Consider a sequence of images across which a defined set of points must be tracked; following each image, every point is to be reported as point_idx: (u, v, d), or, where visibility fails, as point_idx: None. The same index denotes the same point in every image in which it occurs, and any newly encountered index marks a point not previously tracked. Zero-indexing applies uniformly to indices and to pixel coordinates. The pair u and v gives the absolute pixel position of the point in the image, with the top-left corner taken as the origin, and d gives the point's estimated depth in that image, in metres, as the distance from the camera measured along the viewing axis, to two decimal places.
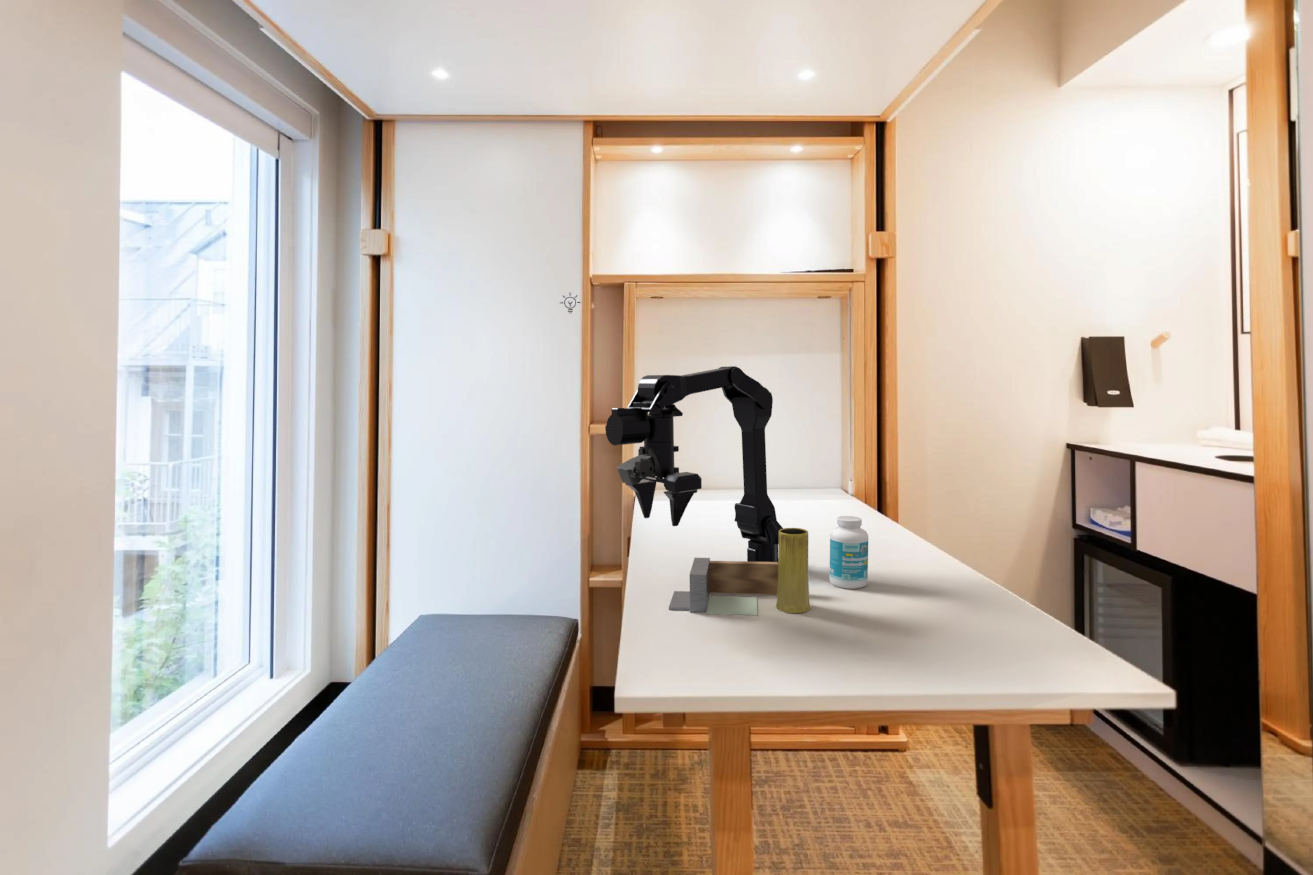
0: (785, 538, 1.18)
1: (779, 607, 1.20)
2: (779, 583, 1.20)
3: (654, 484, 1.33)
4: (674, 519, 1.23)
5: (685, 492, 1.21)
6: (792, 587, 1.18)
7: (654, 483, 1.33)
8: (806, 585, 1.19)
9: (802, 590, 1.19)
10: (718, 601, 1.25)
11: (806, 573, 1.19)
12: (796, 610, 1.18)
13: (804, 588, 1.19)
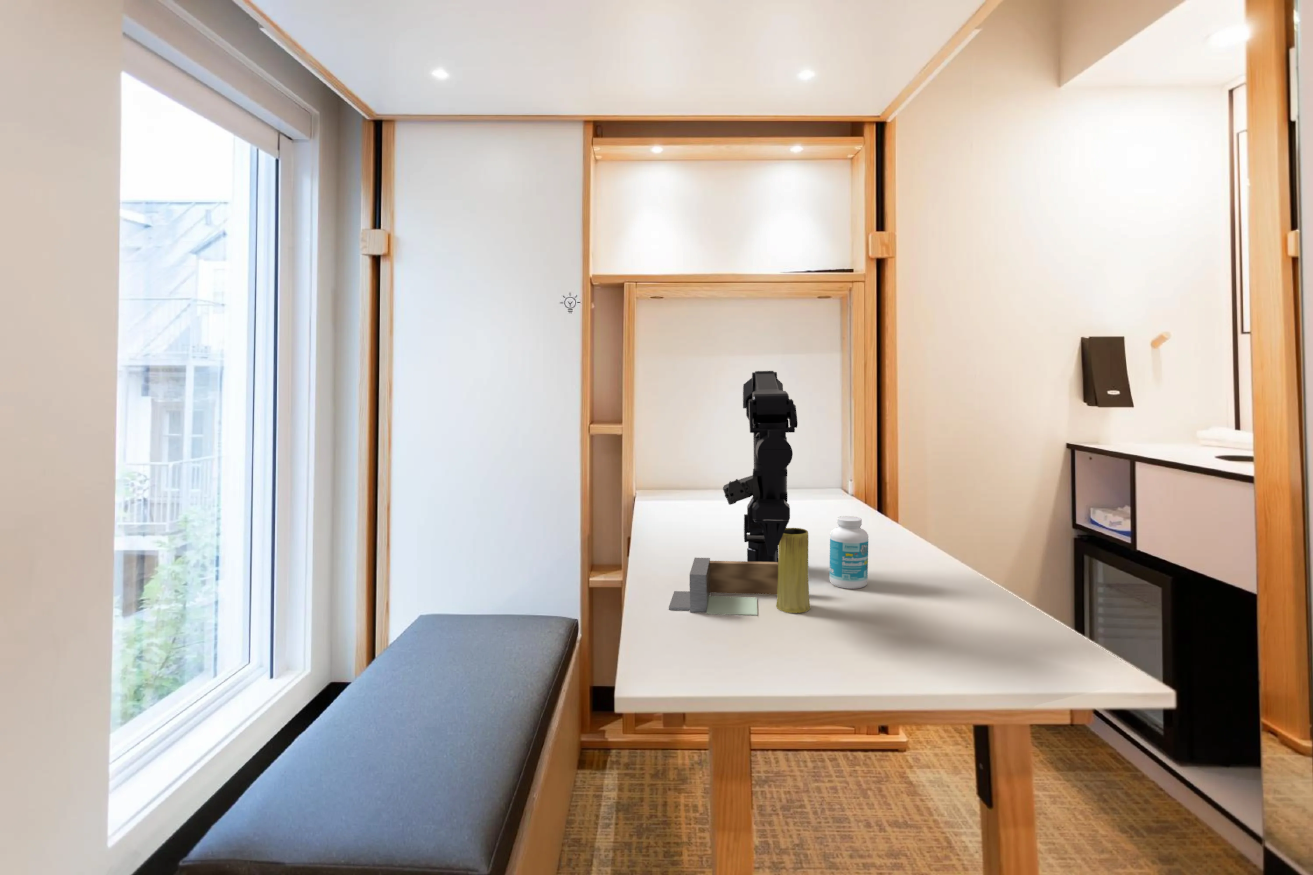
0: (785, 538, 1.18)
1: (779, 607, 1.20)
2: (779, 583, 1.20)
3: None
4: (767, 548, 1.16)
5: (770, 521, 1.12)
6: (792, 587, 1.18)
7: None
8: (806, 585, 1.19)
9: (802, 590, 1.19)
10: (718, 601, 1.25)
11: (806, 573, 1.19)
12: (796, 610, 1.18)
13: (804, 588, 1.19)
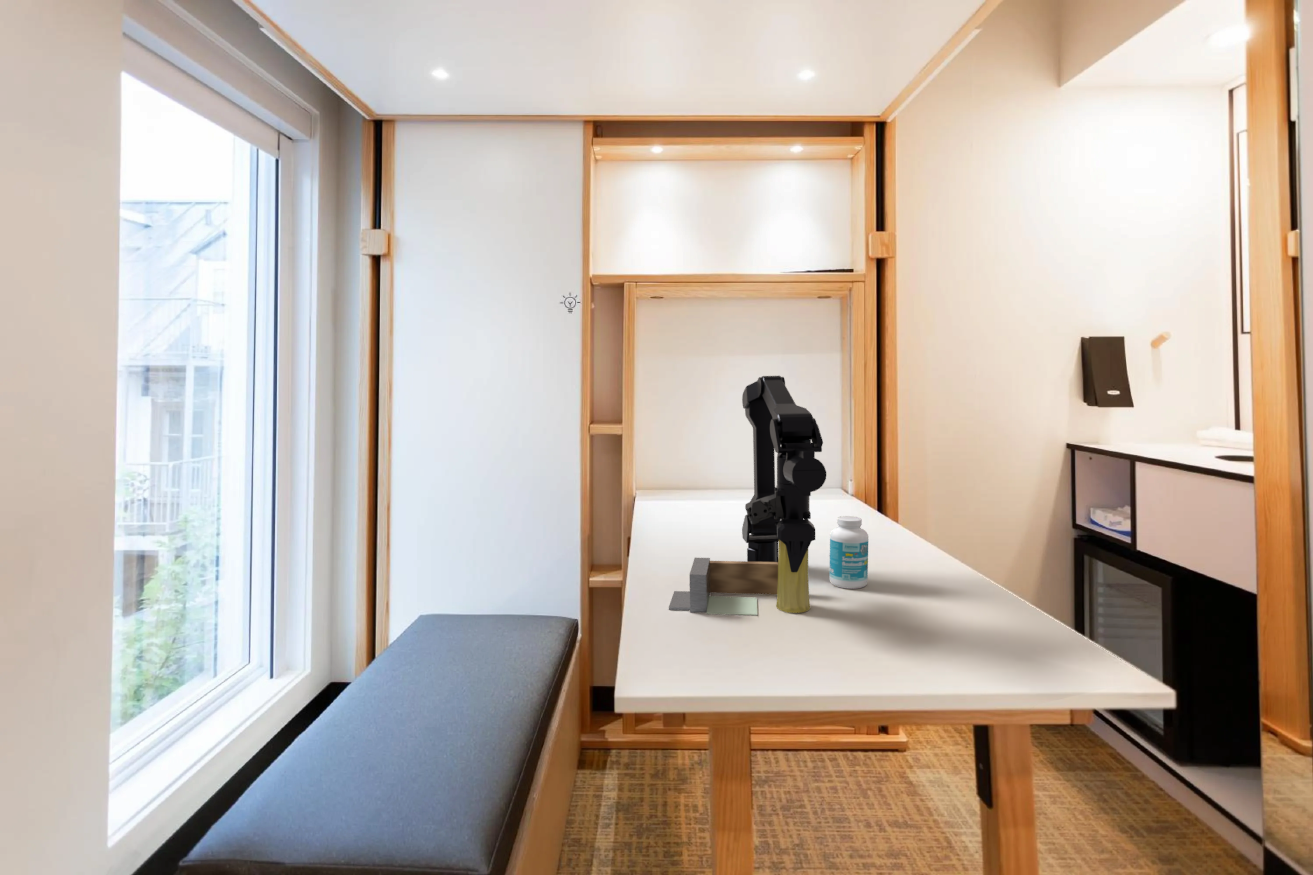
0: None
1: (779, 607, 1.20)
2: (779, 583, 1.20)
3: None
4: (790, 565, 1.17)
5: None
6: (792, 587, 1.18)
7: None
8: (806, 585, 1.19)
9: (802, 590, 1.19)
10: (718, 601, 1.25)
11: (806, 573, 1.19)
12: (796, 610, 1.18)
13: (804, 588, 1.19)
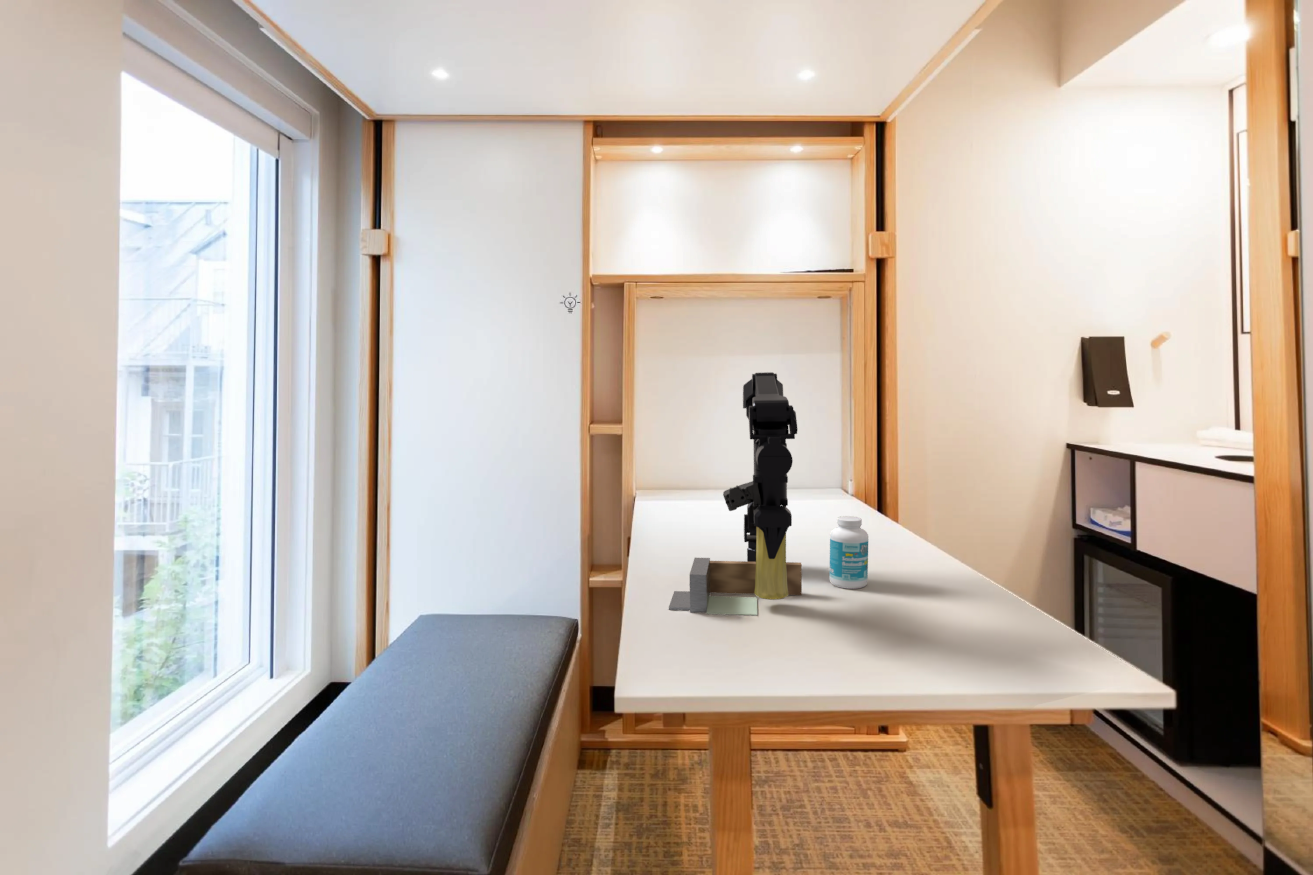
0: None
1: (757, 594, 1.20)
2: (757, 570, 1.21)
3: None
4: (768, 551, 1.18)
5: None
6: (770, 574, 1.19)
7: None
8: (784, 571, 1.19)
9: (780, 577, 1.19)
10: (718, 601, 1.25)
11: (784, 560, 1.19)
12: (774, 597, 1.19)
13: (782, 574, 1.19)
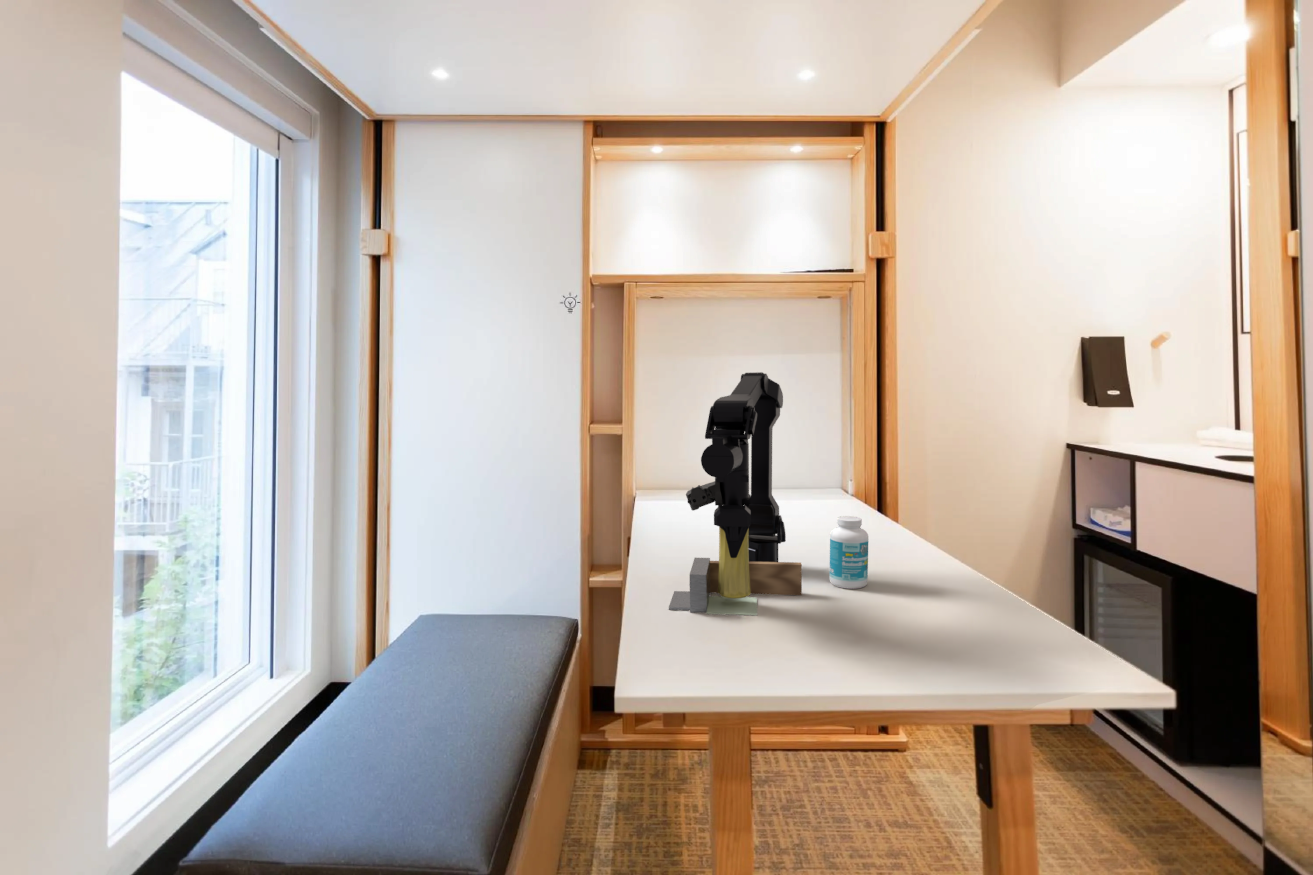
0: None
1: (720, 592, 1.21)
2: (720, 569, 1.22)
3: None
4: (730, 550, 1.18)
5: None
6: (732, 573, 1.20)
7: None
8: (746, 570, 1.20)
9: (742, 576, 1.20)
10: (718, 601, 1.25)
11: (746, 559, 1.20)
12: (736, 595, 1.20)
13: (744, 573, 1.20)
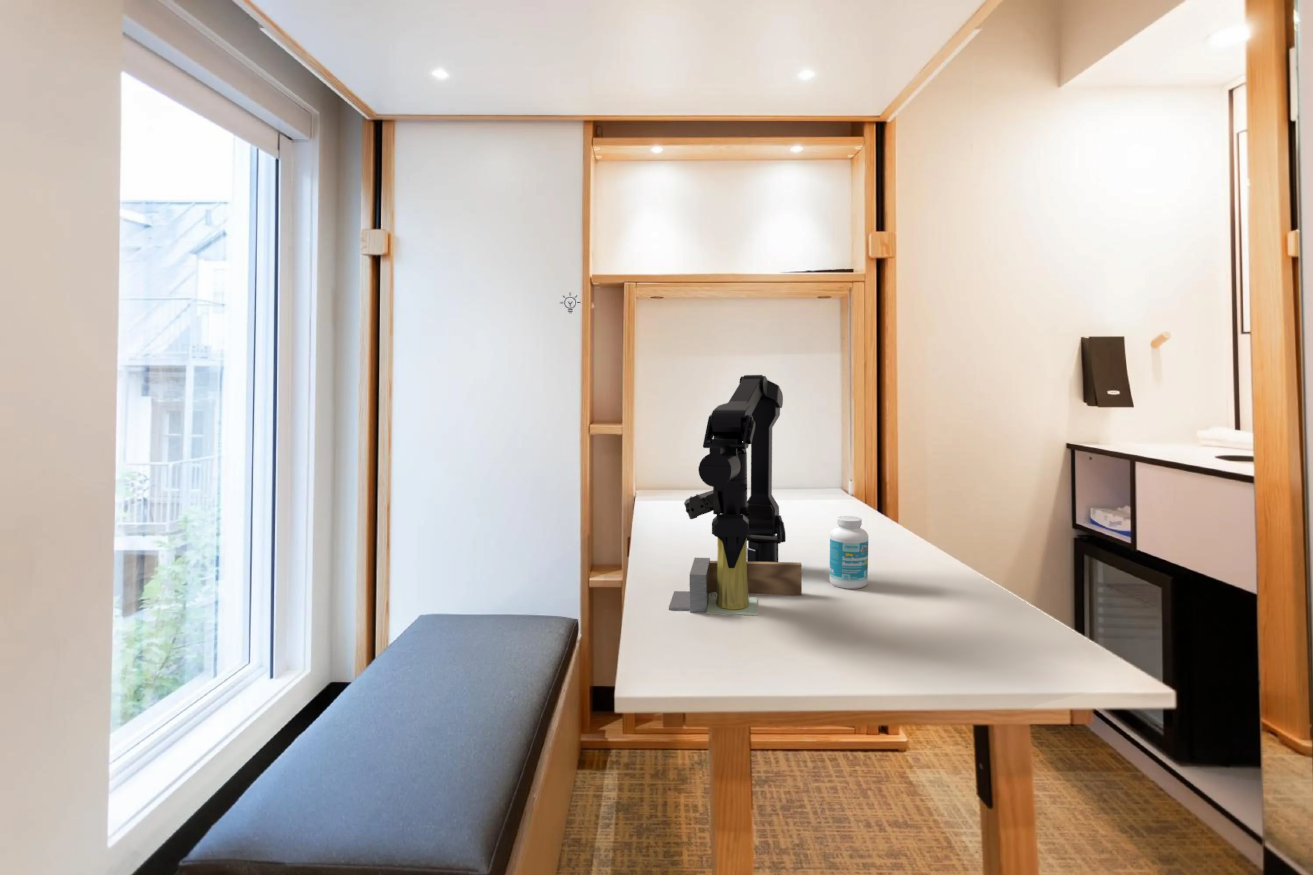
0: None
1: (718, 604, 1.22)
2: (718, 580, 1.22)
3: None
4: (727, 561, 1.18)
5: (729, 535, 1.14)
6: (730, 584, 1.20)
7: None
8: (744, 582, 1.21)
9: (740, 587, 1.20)
10: None
11: (744, 570, 1.21)
12: (734, 607, 1.20)
13: (742, 585, 1.20)
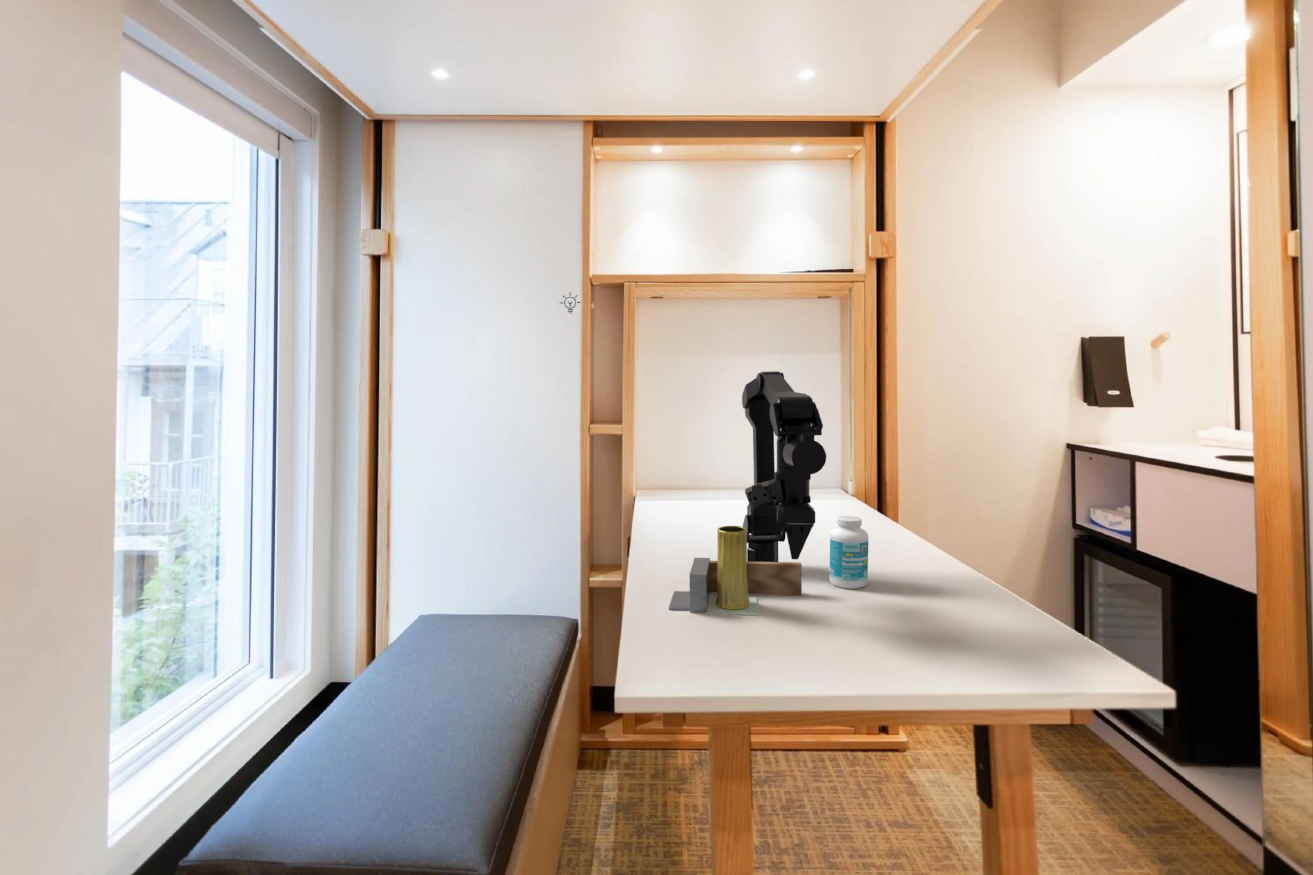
0: (723, 536, 1.20)
1: (718, 604, 1.22)
2: (718, 580, 1.22)
3: None
4: (791, 551, 1.15)
5: (795, 524, 1.12)
6: (730, 584, 1.20)
7: None
8: (744, 582, 1.21)
9: (740, 587, 1.20)
10: None
11: (744, 570, 1.21)
12: (734, 607, 1.20)
13: (742, 585, 1.20)
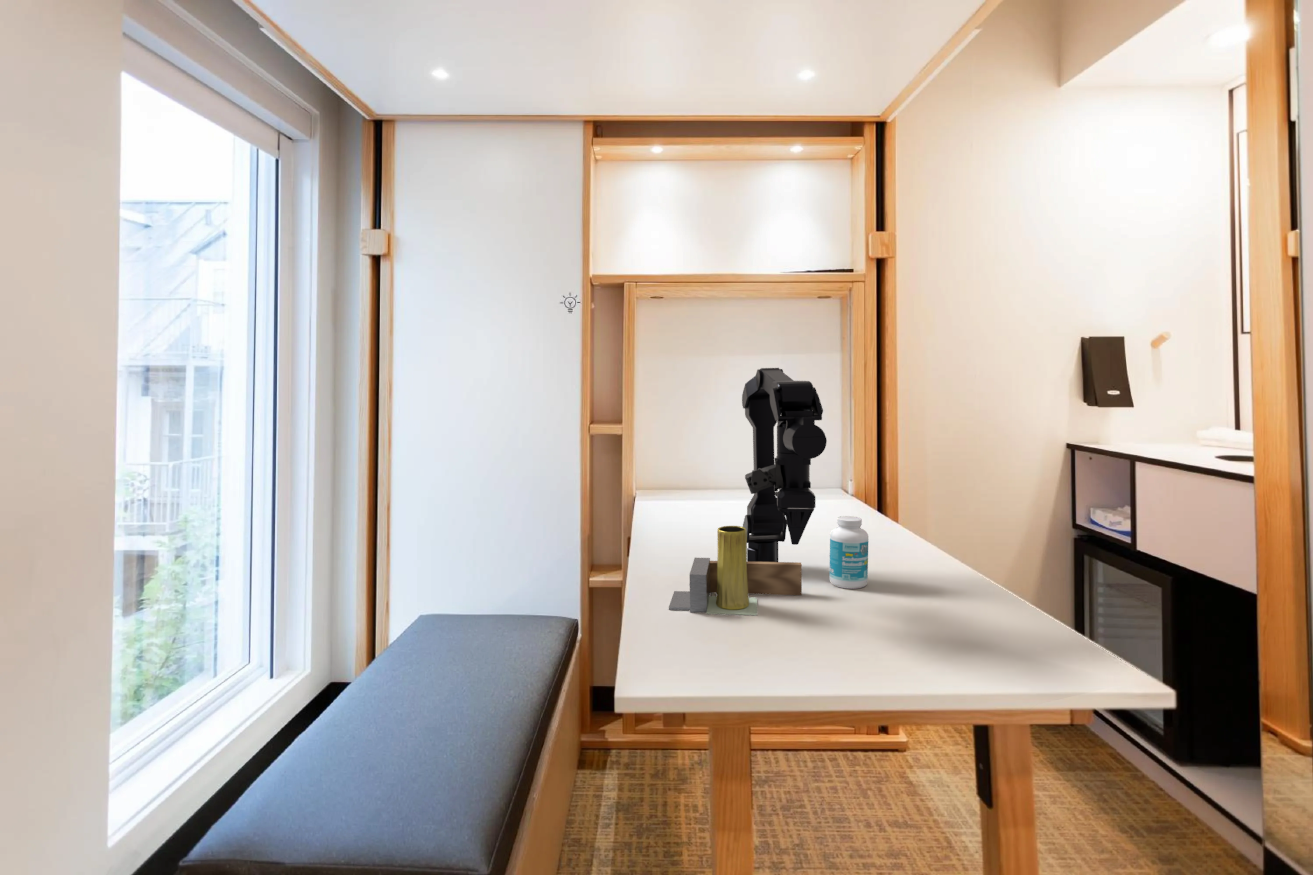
0: (723, 536, 1.20)
1: (718, 604, 1.22)
2: (718, 580, 1.22)
3: None
4: (791, 537, 1.15)
5: (795, 509, 1.12)
6: (730, 584, 1.20)
7: None
8: (744, 582, 1.21)
9: (740, 587, 1.20)
10: None
11: (744, 570, 1.21)
12: (734, 607, 1.20)
13: (742, 585, 1.20)
